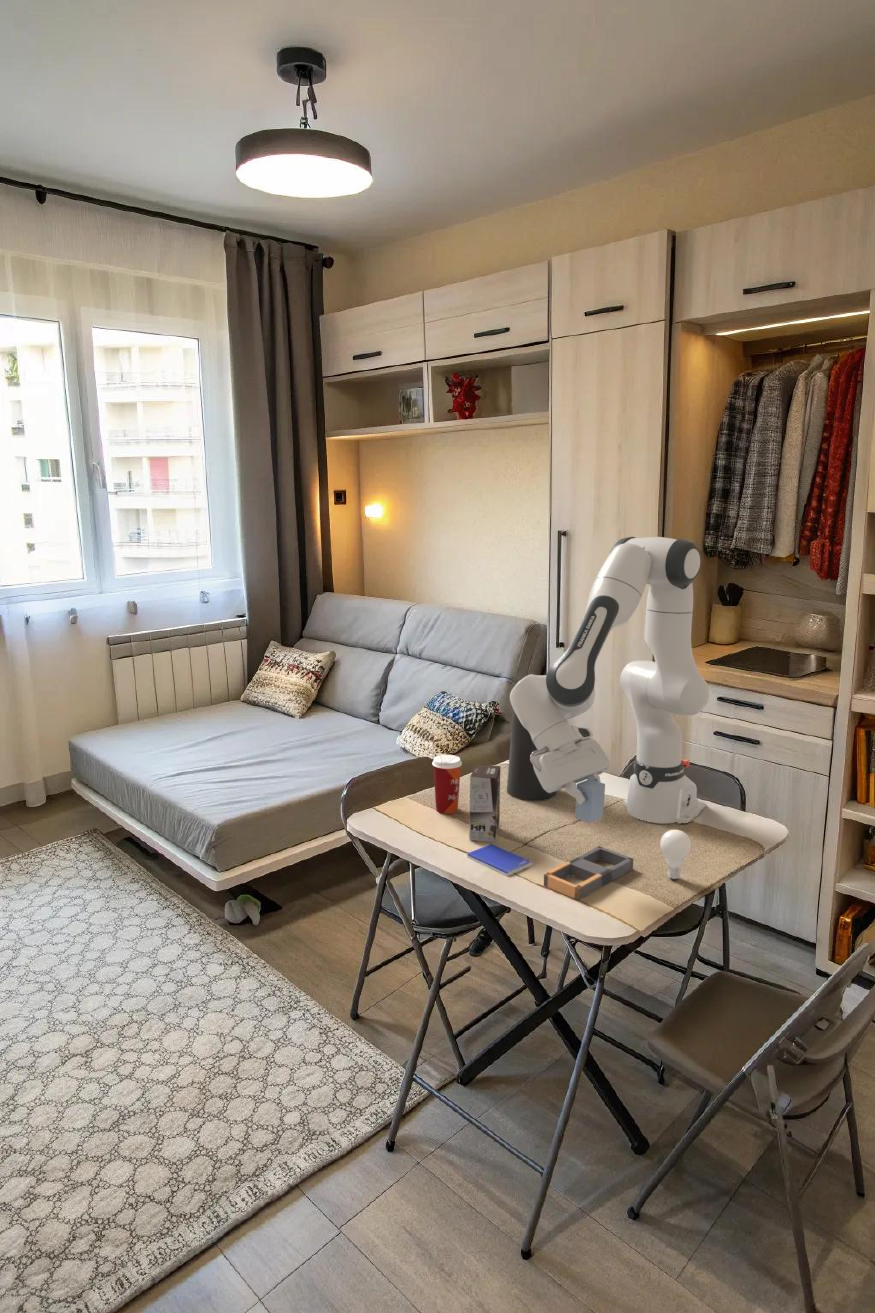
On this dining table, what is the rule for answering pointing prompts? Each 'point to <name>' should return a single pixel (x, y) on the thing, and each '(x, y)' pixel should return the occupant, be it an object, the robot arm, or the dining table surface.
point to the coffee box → (484, 803)
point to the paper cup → (447, 783)
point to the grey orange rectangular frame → (588, 872)
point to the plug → (591, 801)
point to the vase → (523, 766)
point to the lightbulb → (675, 851)
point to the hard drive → (499, 859)
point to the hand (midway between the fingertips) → (592, 798)
